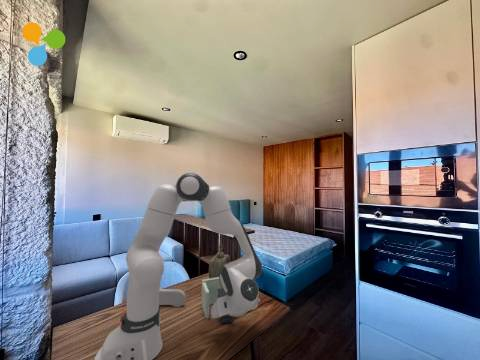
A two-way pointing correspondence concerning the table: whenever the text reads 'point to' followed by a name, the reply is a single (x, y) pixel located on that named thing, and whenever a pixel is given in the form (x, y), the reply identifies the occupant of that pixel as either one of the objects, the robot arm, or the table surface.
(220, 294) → the small box
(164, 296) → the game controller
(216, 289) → the rack
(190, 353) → the table surface
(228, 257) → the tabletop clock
